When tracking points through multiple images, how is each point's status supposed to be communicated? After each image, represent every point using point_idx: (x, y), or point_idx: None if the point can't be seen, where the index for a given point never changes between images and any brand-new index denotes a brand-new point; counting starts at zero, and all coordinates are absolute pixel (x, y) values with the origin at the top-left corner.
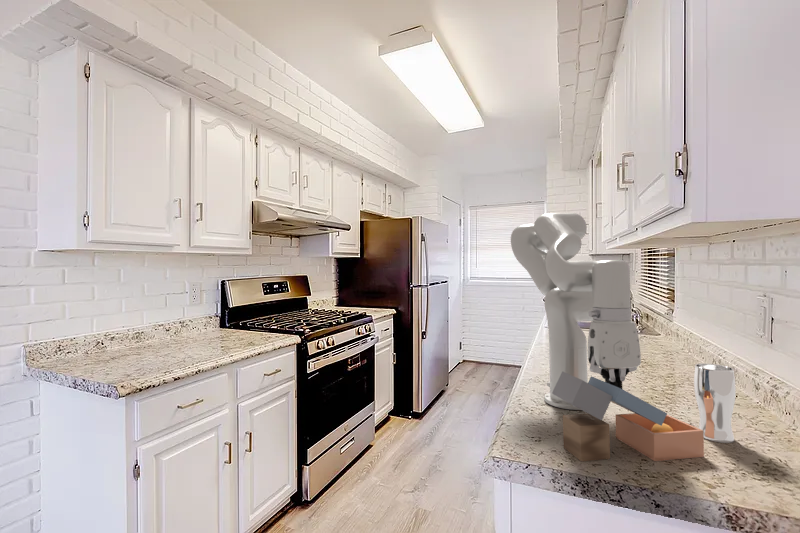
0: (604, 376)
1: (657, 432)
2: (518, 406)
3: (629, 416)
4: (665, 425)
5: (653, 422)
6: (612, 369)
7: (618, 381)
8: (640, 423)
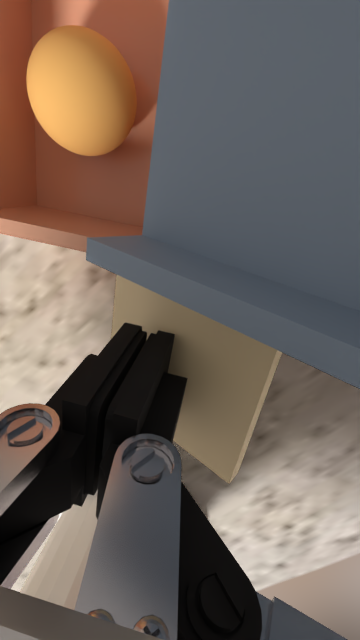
0: (205, 536)
1: (125, 79)
2: (301, 558)
3: None
4: (58, 55)
5: (36, 214)
6: (98, 610)
7: (84, 421)
8: (101, 228)
